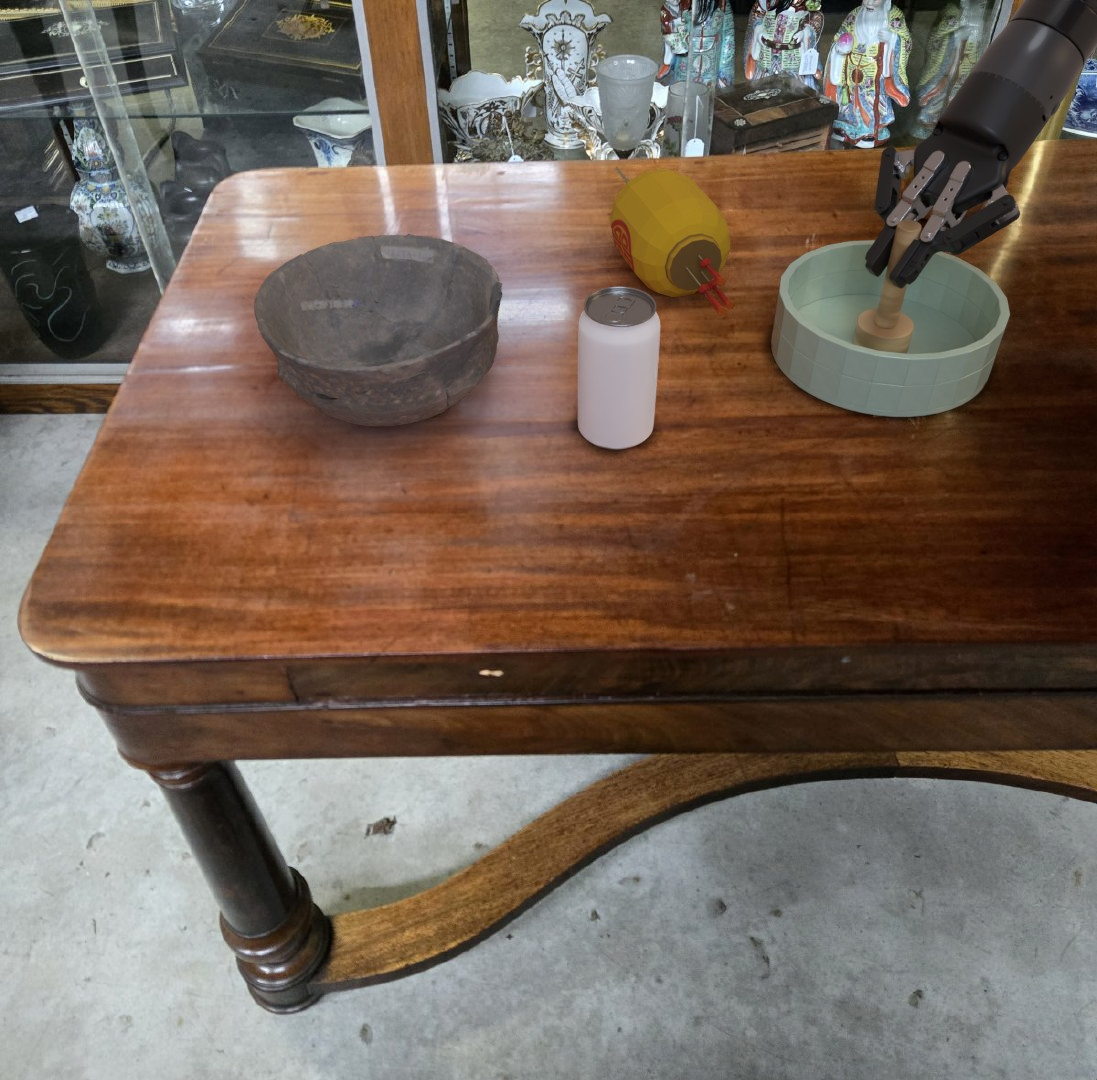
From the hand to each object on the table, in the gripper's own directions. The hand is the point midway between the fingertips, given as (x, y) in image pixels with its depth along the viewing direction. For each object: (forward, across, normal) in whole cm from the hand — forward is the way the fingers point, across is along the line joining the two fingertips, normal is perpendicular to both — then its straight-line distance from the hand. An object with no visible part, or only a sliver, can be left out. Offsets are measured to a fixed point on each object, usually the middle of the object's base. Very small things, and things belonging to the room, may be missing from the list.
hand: (883, 277), depth 89 cm
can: (+23, -7, -11) cm, 27 cm away
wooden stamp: (+4, 0, +7) cm, 8 cm away
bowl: (+32, -24, -19) cm, 44 cm away
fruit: (-14, -13, +26) cm, 32 cm away
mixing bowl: (+5, 0, +7) cm, 9 cm away
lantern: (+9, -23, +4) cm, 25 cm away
